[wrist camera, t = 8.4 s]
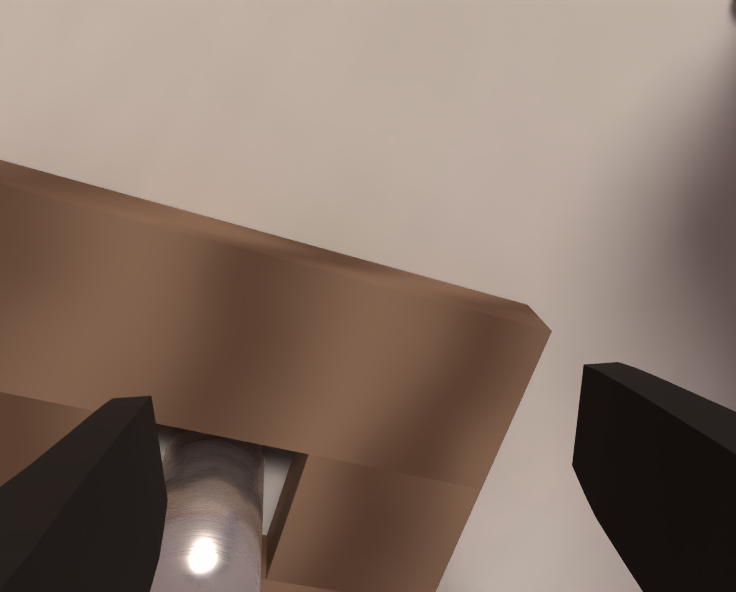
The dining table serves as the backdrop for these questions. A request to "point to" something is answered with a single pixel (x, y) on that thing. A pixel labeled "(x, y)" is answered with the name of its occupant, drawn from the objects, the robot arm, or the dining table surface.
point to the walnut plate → (264, 369)
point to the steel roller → (211, 515)
